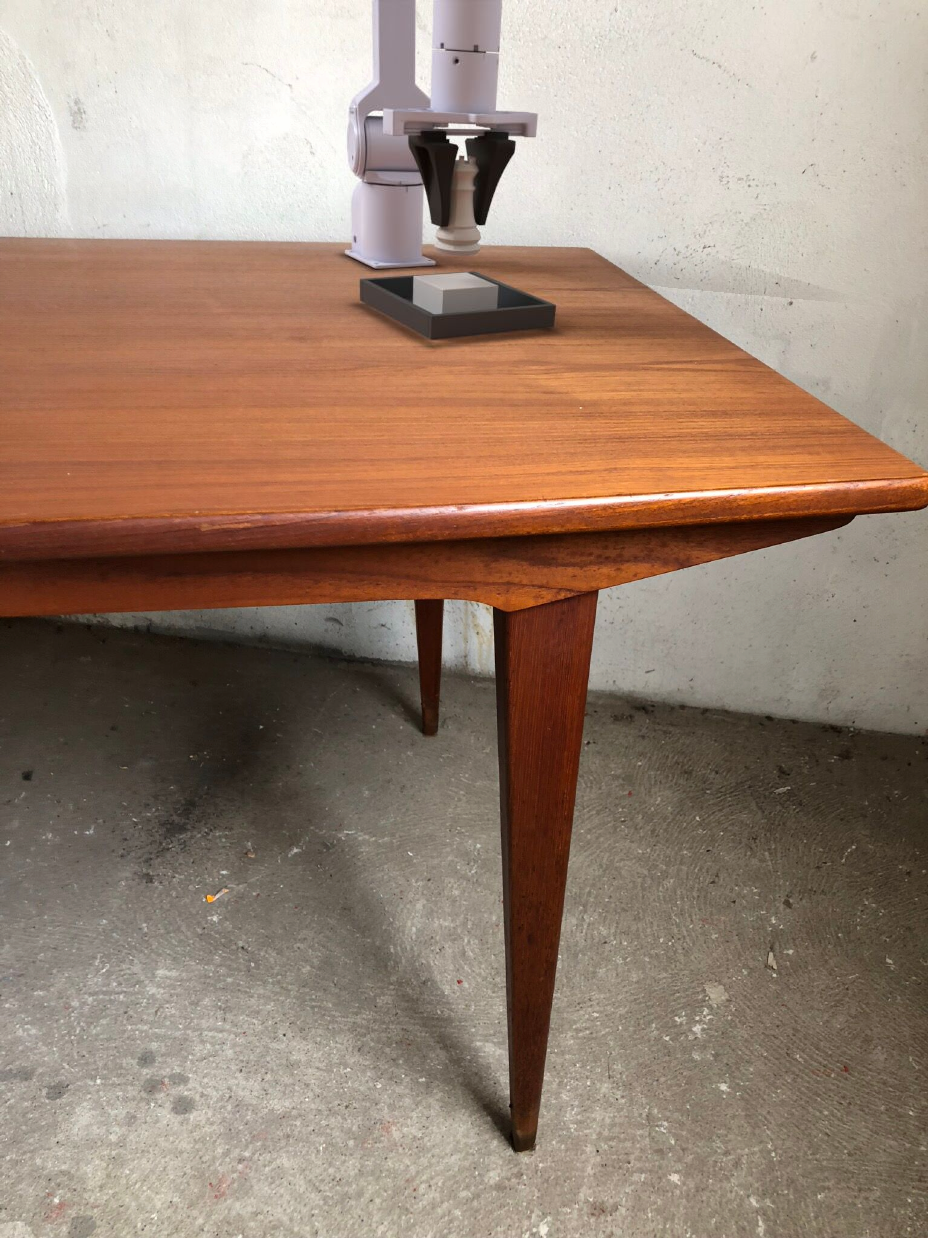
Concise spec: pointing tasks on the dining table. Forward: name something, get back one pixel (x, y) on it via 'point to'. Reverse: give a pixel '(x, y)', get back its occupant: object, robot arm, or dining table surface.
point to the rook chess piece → (460, 213)
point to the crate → (509, 316)
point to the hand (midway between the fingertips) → (458, 224)
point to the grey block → (454, 293)
